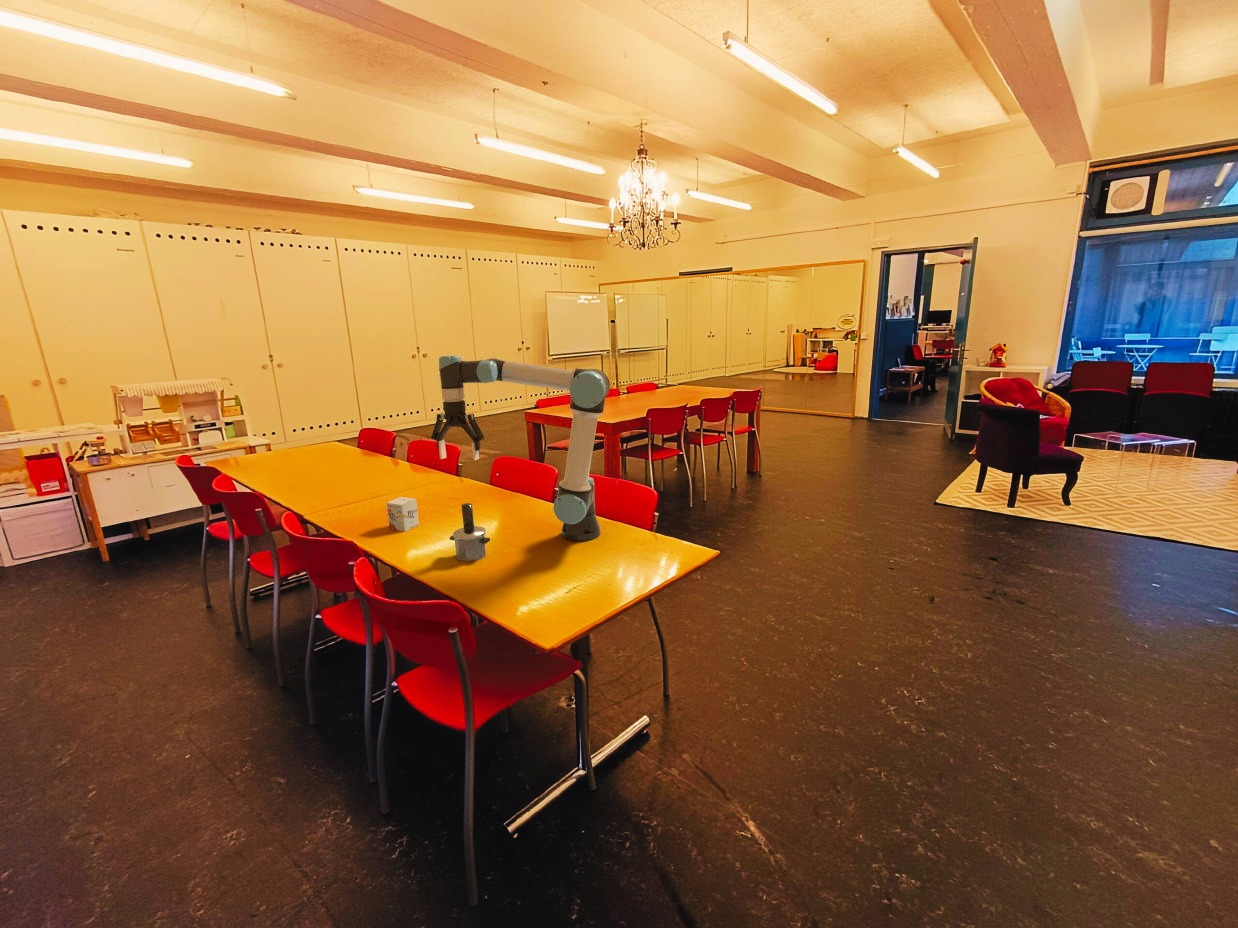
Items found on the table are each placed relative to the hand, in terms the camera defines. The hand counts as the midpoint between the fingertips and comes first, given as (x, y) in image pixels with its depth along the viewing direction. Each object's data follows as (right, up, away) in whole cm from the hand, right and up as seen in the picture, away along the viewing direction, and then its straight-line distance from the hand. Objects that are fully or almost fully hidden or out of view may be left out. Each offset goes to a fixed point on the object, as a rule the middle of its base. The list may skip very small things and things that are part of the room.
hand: (459, 459), depth 194 cm
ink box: (-32, -28, +30) cm, 52 cm away
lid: (+5, -27, -4) cm, 28 cm away
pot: (+5, -35, -2) cm, 35 cm away
